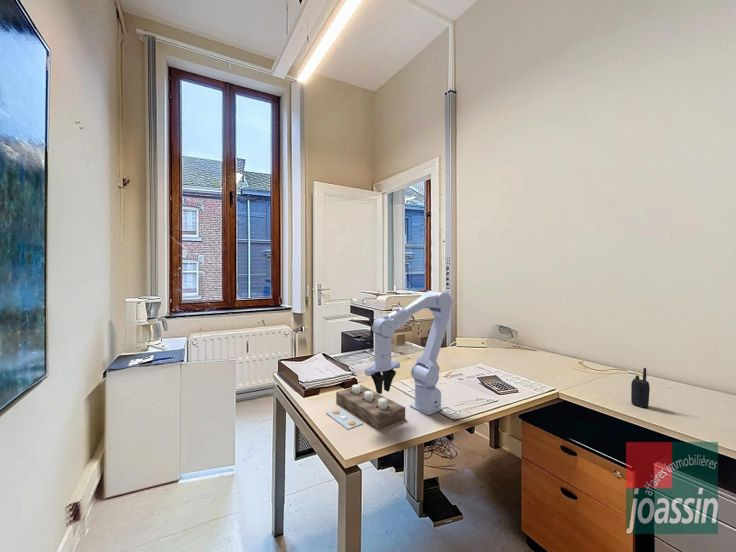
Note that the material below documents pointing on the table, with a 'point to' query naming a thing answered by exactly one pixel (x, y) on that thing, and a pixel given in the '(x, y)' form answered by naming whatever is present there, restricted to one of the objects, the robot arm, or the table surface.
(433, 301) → the robot arm
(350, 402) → the button box
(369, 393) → the middle button
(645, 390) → the two-way radio
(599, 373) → the table surface
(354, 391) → the button
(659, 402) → the table surface
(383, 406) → the button
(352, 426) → the pattern card
